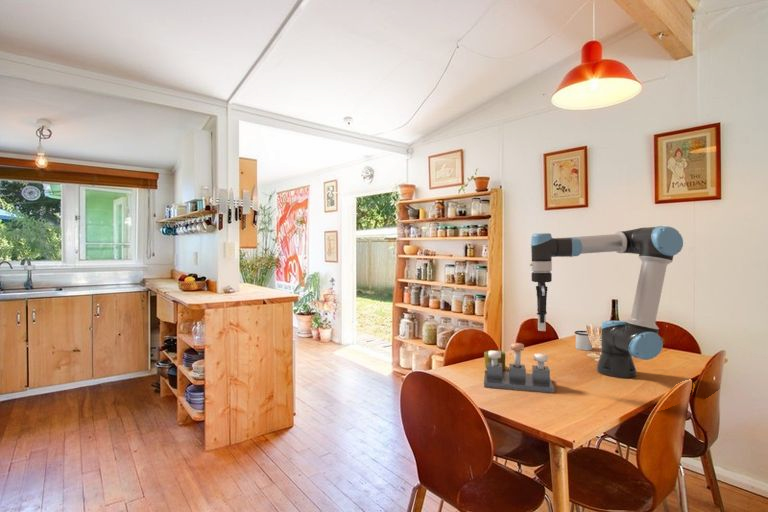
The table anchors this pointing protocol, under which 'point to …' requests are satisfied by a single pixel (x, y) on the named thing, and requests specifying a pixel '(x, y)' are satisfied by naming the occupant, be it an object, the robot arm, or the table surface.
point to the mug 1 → (500, 360)
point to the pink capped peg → (517, 353)
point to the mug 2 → (583, 341)
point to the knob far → (494, 357)
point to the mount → (518, 378)
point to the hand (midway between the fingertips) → (541, 330)
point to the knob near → (541, 360)
